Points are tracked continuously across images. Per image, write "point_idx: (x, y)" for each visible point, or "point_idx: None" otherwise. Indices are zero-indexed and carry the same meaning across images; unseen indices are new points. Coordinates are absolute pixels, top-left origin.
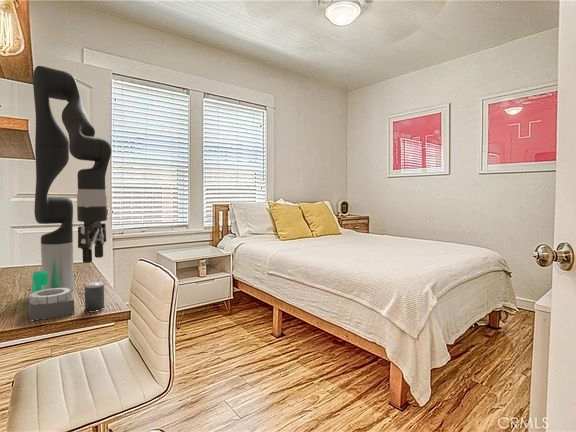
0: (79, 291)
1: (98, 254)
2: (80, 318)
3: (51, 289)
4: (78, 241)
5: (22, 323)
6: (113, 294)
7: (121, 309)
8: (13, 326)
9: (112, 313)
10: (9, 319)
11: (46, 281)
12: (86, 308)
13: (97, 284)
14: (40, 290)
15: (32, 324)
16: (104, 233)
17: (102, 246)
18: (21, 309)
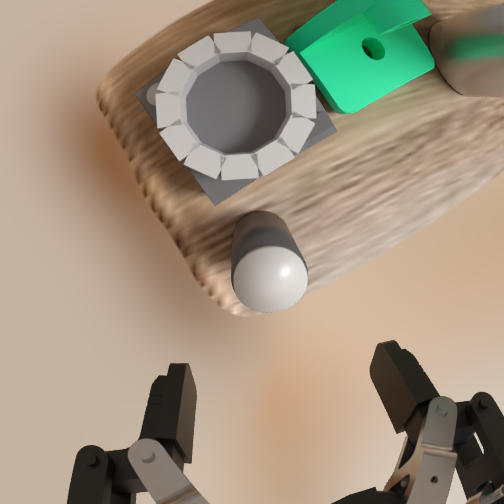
0: (455, 116)
1: (382, 370)
2: (175, 234)
3: (289, 80)
4: (71, 489)
5: (141, 86)
6: (410, 233)
7: (250, 311)
8: (121, 80)
9: (216, 301)
10: (184, 26)
11: (377, 30)
12: (237, 227)
13: (264, 296)
14: (275, 42)
15: (130, 121)
16: (461, 481)
17: (397, 427)
18: (285, 6)
